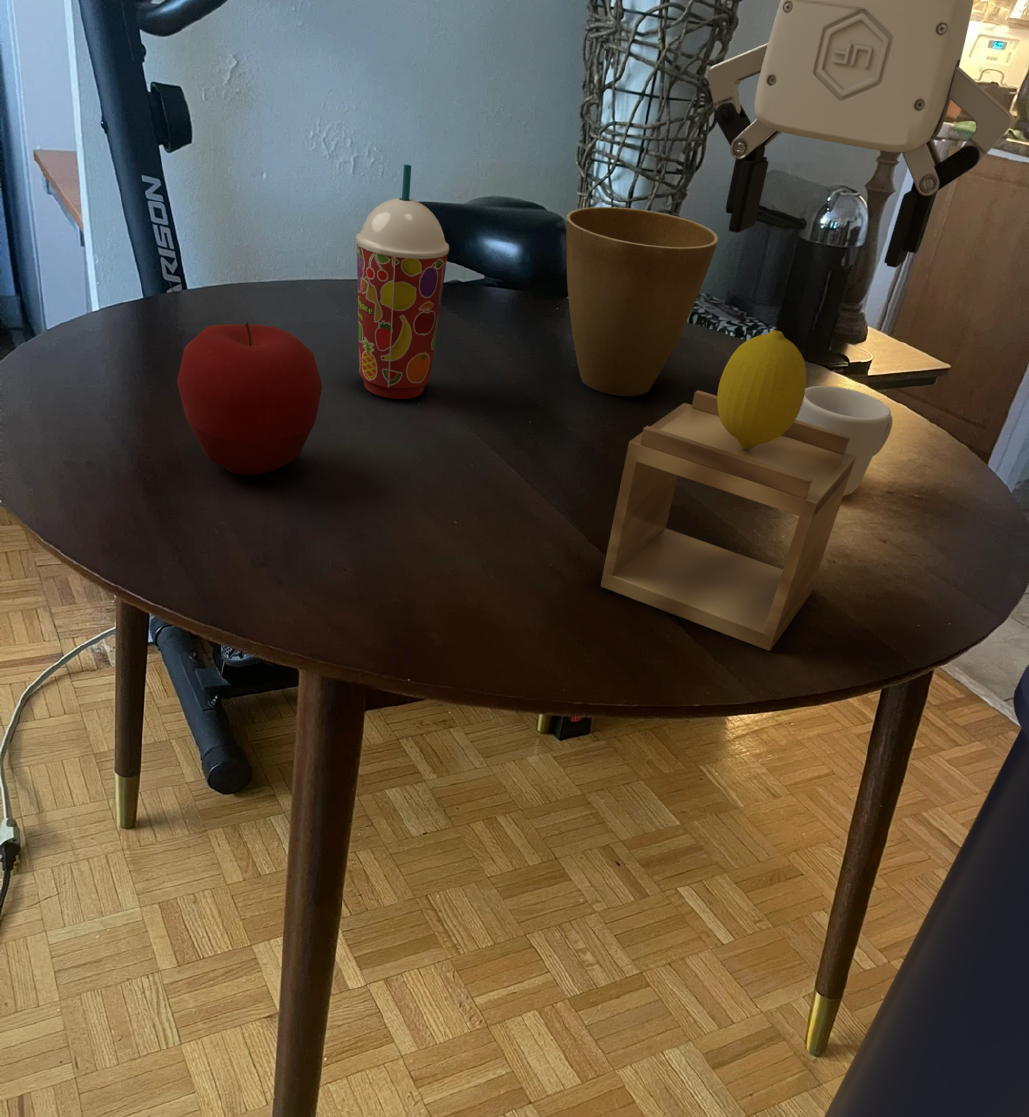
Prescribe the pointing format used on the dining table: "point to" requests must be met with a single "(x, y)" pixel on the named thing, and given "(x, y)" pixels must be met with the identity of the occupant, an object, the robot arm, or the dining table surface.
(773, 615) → the shelf
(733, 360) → the lemon
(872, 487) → the dining table surface
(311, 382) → the apple
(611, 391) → the plant pot
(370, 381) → the smoothie
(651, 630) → the dining table surface
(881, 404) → the cup
